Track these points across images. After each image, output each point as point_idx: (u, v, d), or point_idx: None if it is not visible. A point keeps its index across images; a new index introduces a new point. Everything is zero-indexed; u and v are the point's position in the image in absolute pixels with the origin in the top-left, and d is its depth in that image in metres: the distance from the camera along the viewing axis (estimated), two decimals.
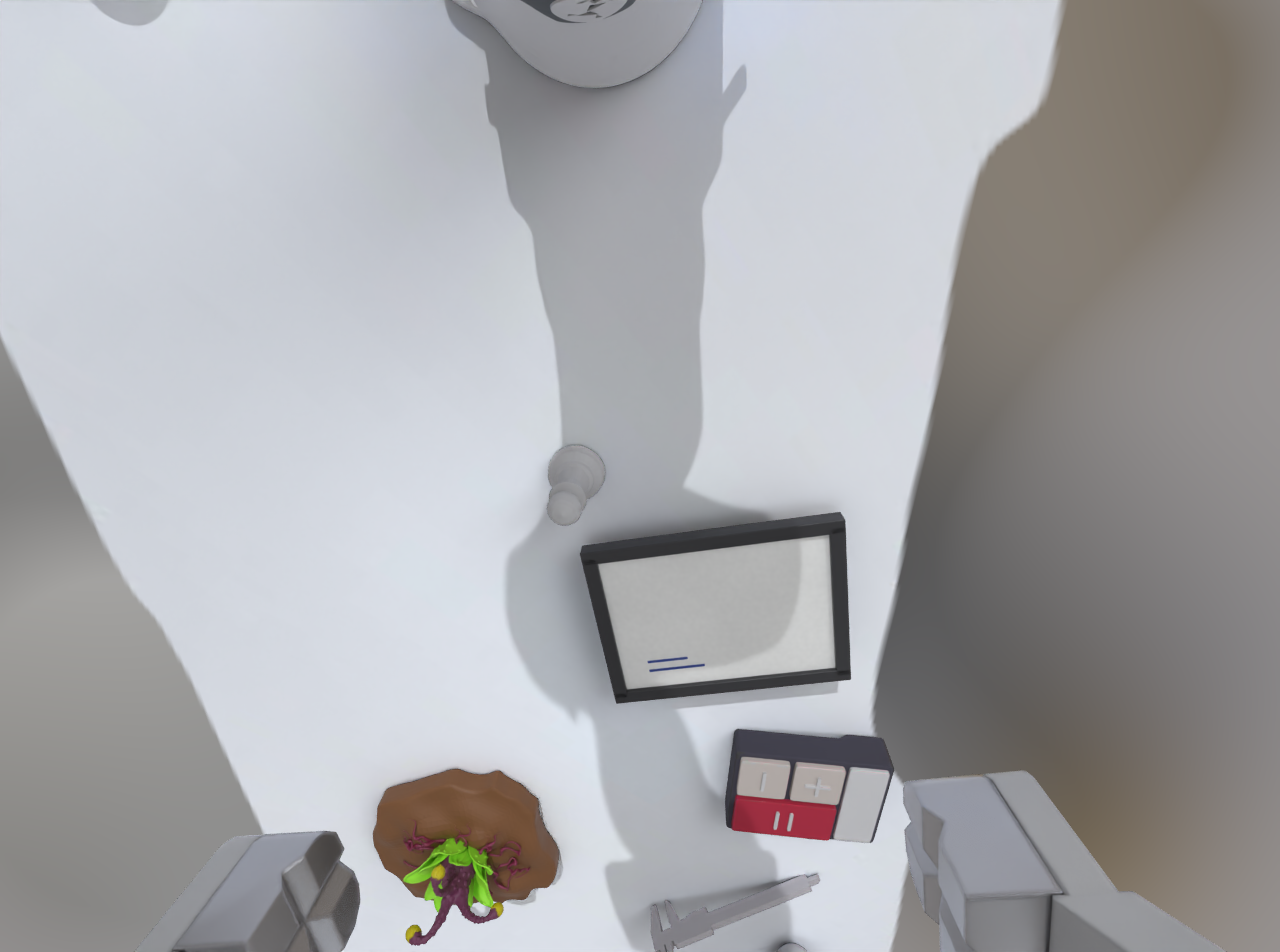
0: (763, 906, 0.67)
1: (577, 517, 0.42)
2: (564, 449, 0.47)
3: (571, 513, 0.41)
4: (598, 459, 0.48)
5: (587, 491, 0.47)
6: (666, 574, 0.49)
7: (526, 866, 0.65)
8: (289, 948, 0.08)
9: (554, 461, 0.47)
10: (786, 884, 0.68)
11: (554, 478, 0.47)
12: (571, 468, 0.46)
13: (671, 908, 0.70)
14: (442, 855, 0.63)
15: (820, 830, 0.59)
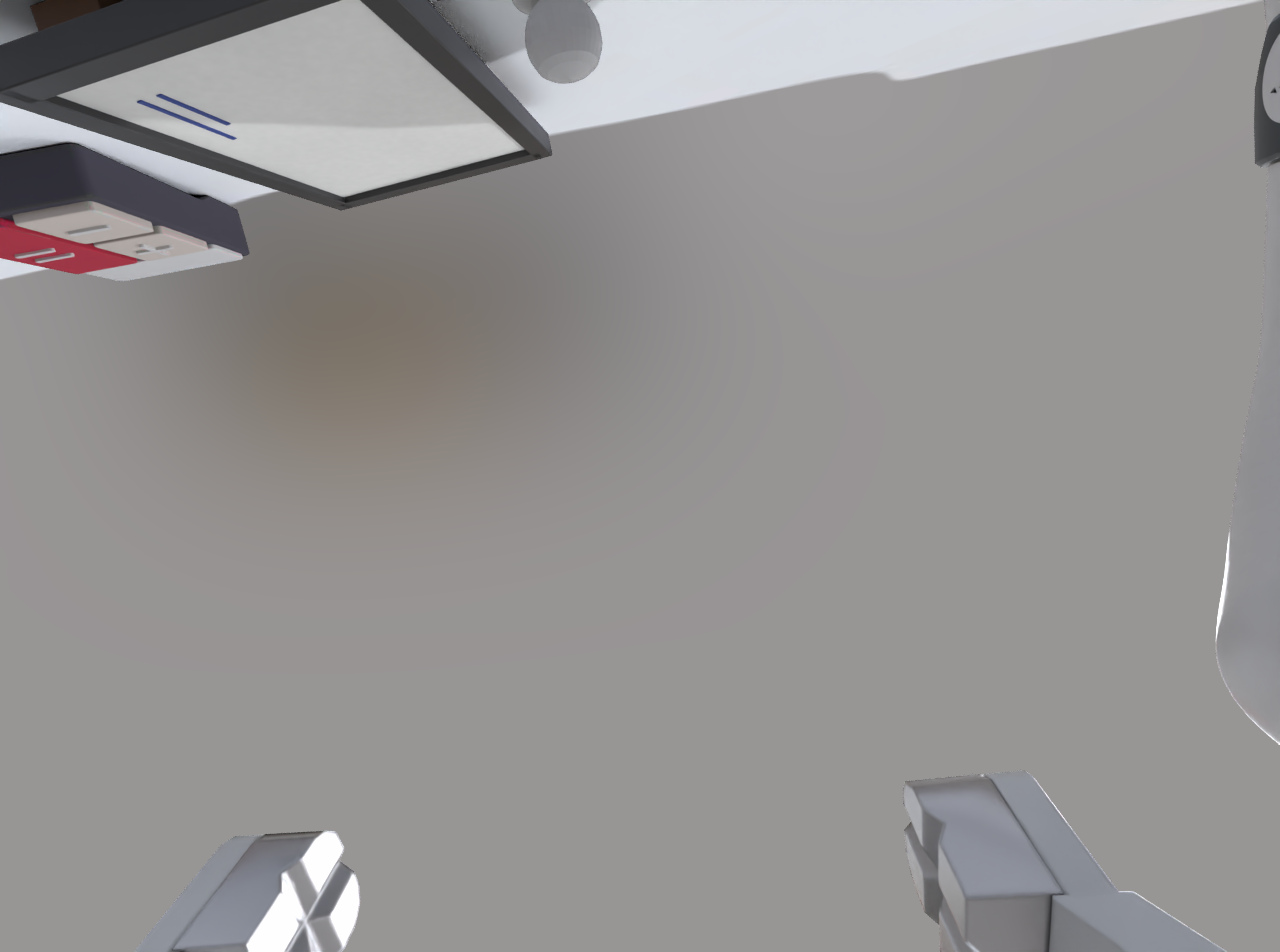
0: None
1: None
2: None
3: None
4: None
5: None
6: (386, 68, 0.26)
7: None
8: (289, 948, 0.08)
9: None
10: None
11: None
12: None
13: None
14: None
15: (83, 268, 0.42)
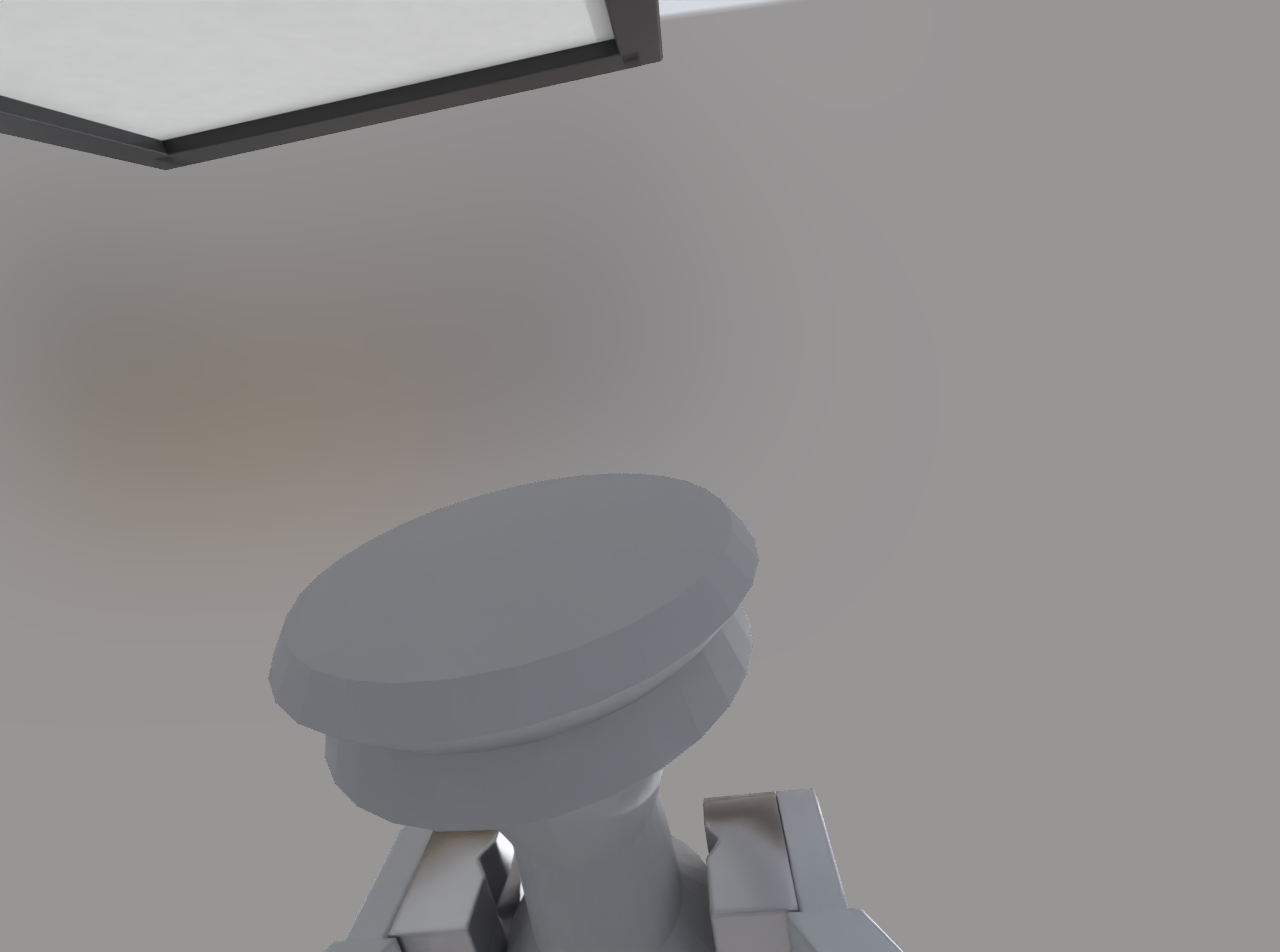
0: None
1: None
2: (748, 581, 0.05)
3: None
4: None
5: None
6: None
7: None
8: None
9: (700, 730, 0.05)
10: None
11: None
12: None
13: None
14: None
15: None
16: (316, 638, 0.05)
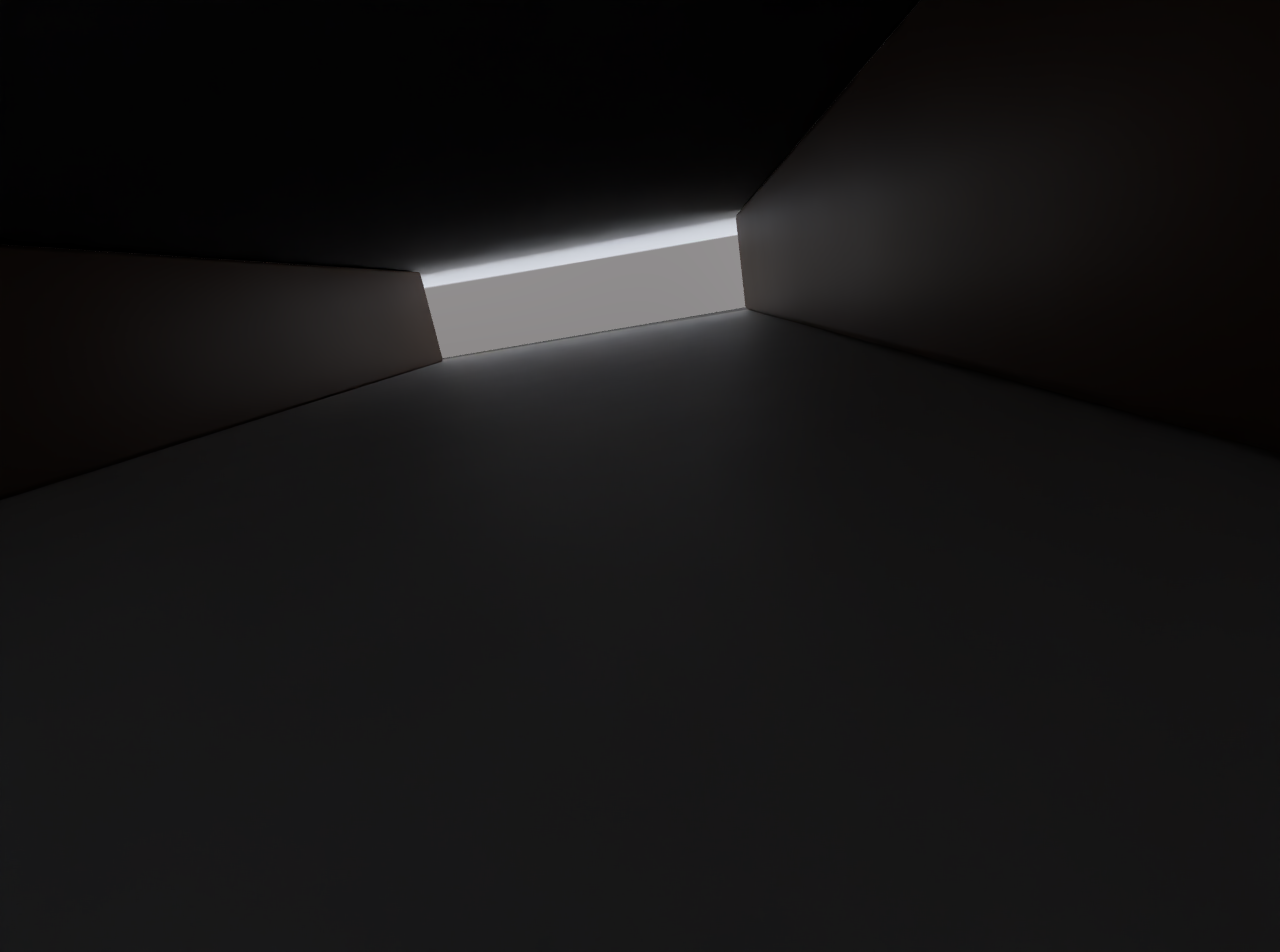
0: None
1: None
2: None
3: None
4: None
5: None
6: None
7: None
8: None
9: None
10: None
11: None
12: None
13: None
14: None
15: None
16: None
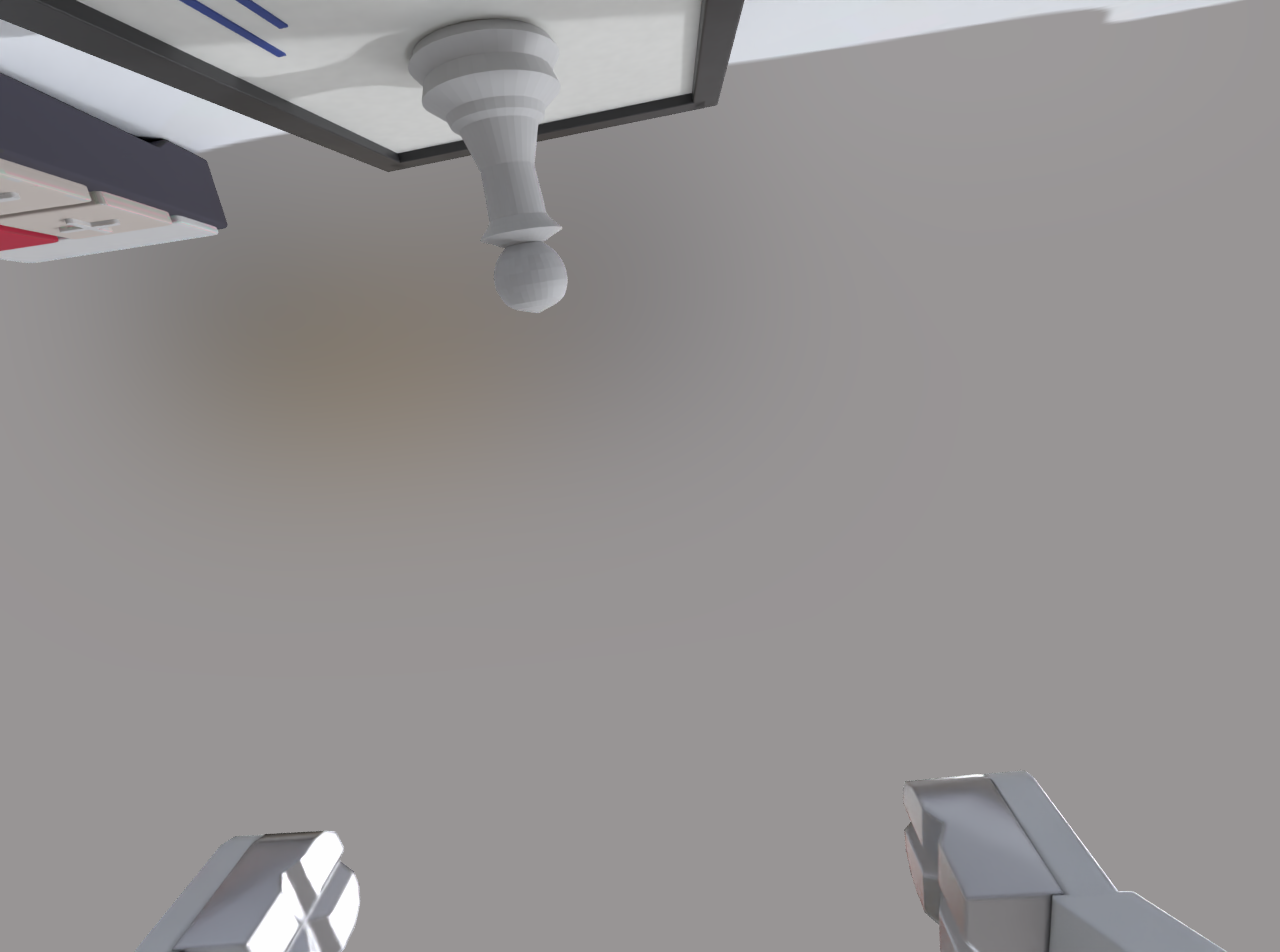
0: None
1: None
2: (550, 45, 0.18)
3: None
4: None
5: None
6: None
7: None
8: (289, 948, 0.08)
9: (532, 75, 0.17)
10: None
11: (493, 100, 0.17)
12: (537, 130, 0.19)
13: None
14: None
15: None
16: None
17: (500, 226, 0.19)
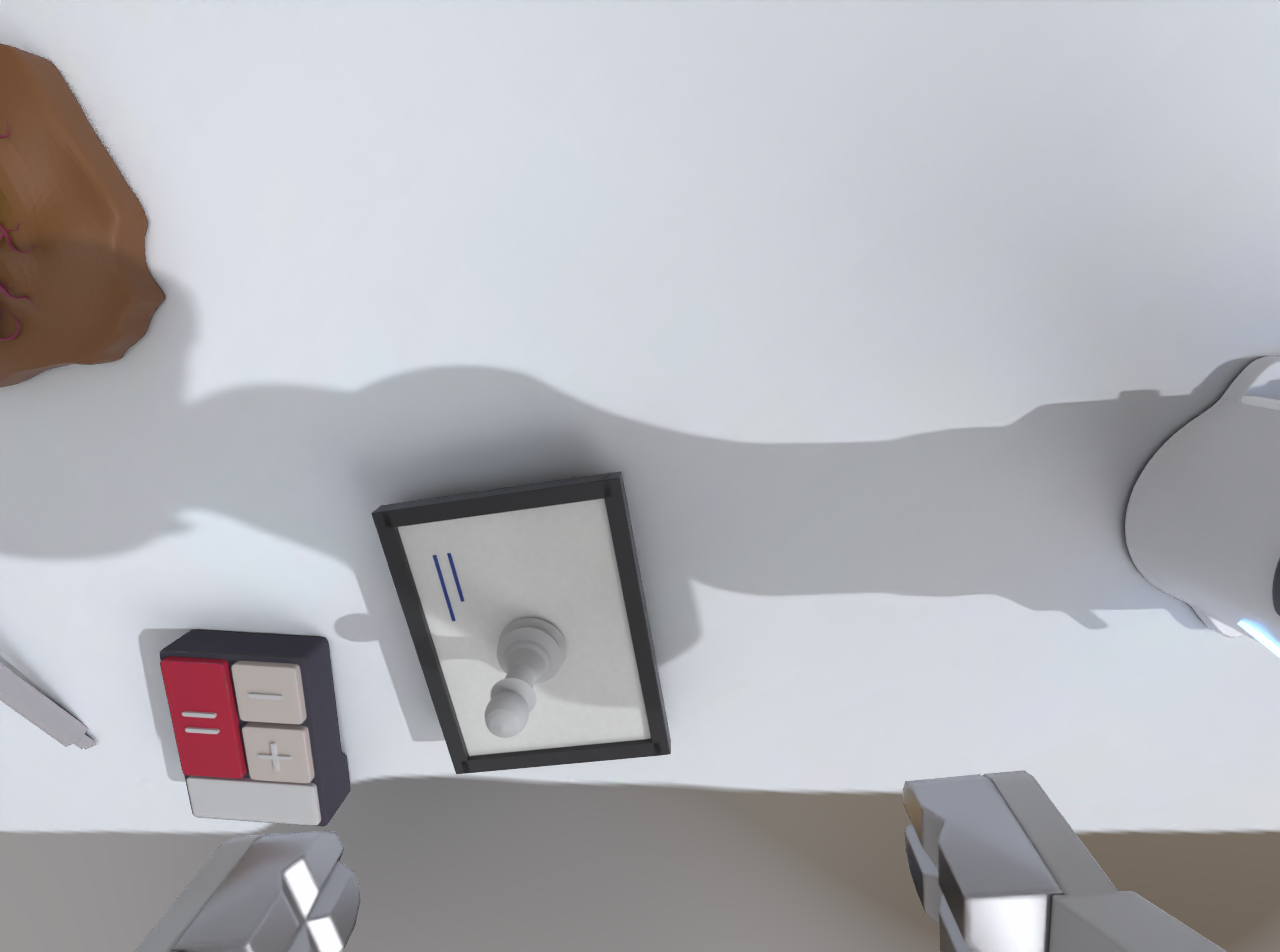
0: (9, 699, 0.45)
1: (498, 735, 0.34)
2: (561, 638, 0.40)
3: (504, 735, 0.33)
4: None
5: None
6: (589, 577, 0.39)
7: None
8: (289, 948, 0.08)
9: (548, 637, 0.39)
10: (60, 713, 0.48)
11: (527, 641, 0.38)
12: (543, 666, 0.38)
13: None
14: None
15: (198, 764, 0.44)
16: None
17: (504, 680, 0.35)
